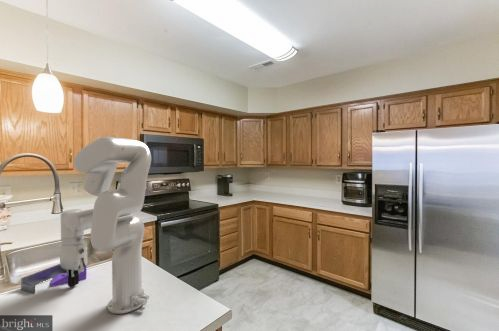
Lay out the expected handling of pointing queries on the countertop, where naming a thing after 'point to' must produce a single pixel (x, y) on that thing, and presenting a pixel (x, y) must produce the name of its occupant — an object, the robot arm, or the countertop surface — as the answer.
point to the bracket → (66, 278)
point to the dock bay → (39, 278)
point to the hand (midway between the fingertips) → (73, 285)
